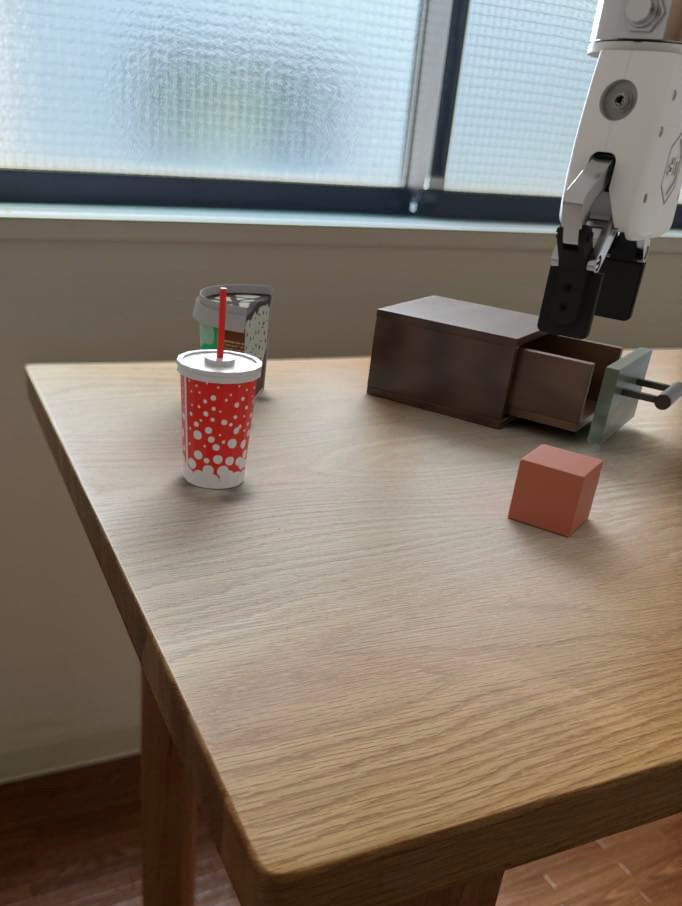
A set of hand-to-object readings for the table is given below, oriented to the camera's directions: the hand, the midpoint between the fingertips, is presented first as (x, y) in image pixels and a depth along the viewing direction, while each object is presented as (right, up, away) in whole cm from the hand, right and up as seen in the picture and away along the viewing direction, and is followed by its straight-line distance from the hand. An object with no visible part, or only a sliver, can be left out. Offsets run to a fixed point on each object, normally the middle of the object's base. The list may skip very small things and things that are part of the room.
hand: (585, 325), depth 57 cm
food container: (-26, -1, +25) cm, 36 cm away
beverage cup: (-26, -10, +7) cm, 28 cm away
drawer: (+8, -3, +25) cm, 27 cm away
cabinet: (-2, 0, +31) cm, 32 cm away
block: (-1, -13, +5) cm, 14 cm away
